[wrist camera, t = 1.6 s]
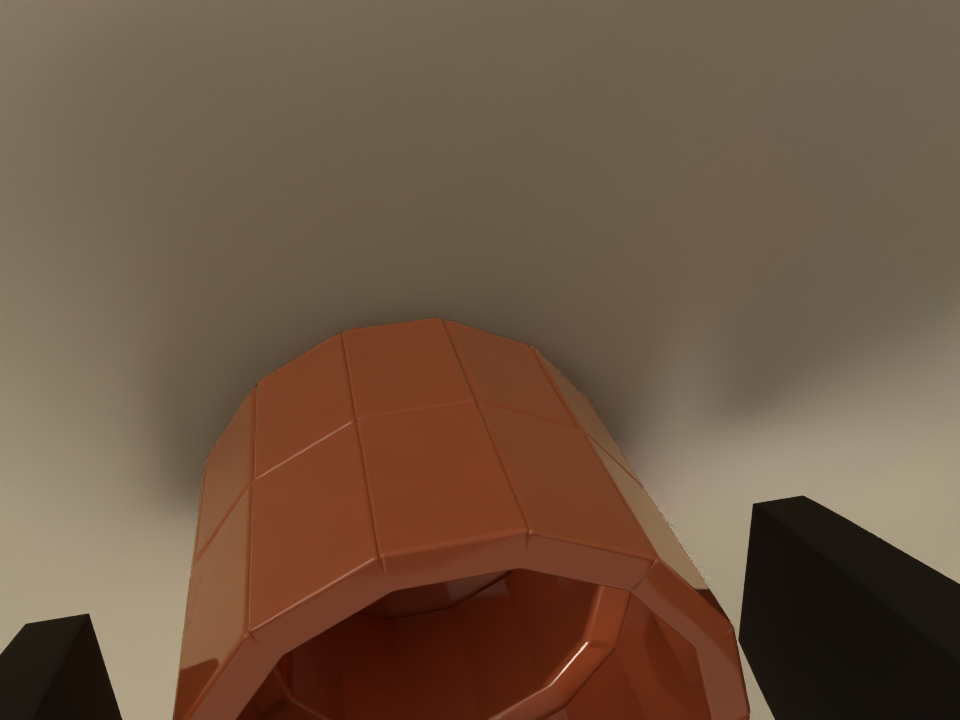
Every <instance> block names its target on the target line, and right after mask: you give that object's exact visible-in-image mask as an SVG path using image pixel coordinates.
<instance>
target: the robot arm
mask: <svg viewBox="0 0 960 720" xmlns="http://www.w3.org/2000/svg"><path fill="white" fill-rule="evenodd" d="M738 641H739V643H740V645H741V647H742V650H743V652H744V654H745V656H746V658H747V661H748V663H749V665H750V667H751V670H752V672H753V674H754V676H755V679H756V681H757V683H758V685H759V687H760V689H761V691H762V693H763V696H764V698H765V700H766V702H767V704H768V706H769V708H770V710H771V712H772V714H773V716H774V718H775V720H960V584H959V583H957V582H955V581H953V580H951V579H950V578H948V577H946V576H944V575H943V574H941V573H939V572H937V571H936V570H934V569H932V568H930V567H929V566H927V565H925V564H924V563H922V562H920V561H918V560H917V559H915V558H913V557H911V556H910V555H908V554H906V553H905V552H903V551H901V550H899V549H898V548H896V547H894V546H892V545H891V544H889V543H887V542H886V541H884V540H882V539H880V538H879V537H877V536H875V535H874V534H872V533H870V532H868V531H867V530H865V529H863V528H861V527H860V526H858V525H856V524H854V523H853V522H851V521H849V520H848V519H846V518H844V517H842V516H840V515H839V514H837V513H835V512H833V511H831V510H830V509H828V508H826V507H824V506H822V505H820V504H819V503H817V502H815V501H813V500H811V499H809V498H807V497H805V496H797V497H791V498H785V499H779V500H773V501H767V502H761V503H755V504H753V509H752V518H751V528H750V537H749V546H748V555H747V565H746V574H745V583H744V593H743V602H742V611H741V620H740V630H739V639H738ZM0 720H122V718H121V714H120V711H119V708H118V705H117V702H116V698H115V695H114V692H113V689H112V686H111V683H110V679H109V676H108V673H107V670H106V667H105V663H104V660H103V657H102V654H101V651H100V647H99V644H98V641H97V638H96V635H95V631H94V628H93V625H92V622H91V619H90V616H89V614H83V615H77V616H71V617H65V618H59V619H53V620H47V621H40V622H34V623H28V624H25V625H24V627H23V628H22V629H21V630H20V631H19V633H18V634H17V635H16V636H15V637H14V639H13V640H12V641H11V642H10V644H9V645H8V646H7V647H6V648H5V650H4V651H3V652H2V653H1V655H0Z"/></svg>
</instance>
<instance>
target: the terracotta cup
mask: <svg viewBox="0 0 960 720" xmlns="http://www.w3.org/2000/svg"><path fill="white" fill-rule="evenodd" d="M749 714H750V706H749V701H748V696H747V691H746V686H745V681H744V676H743V671H742V666H741V661H740V656H739V651H738V646H737V641H736V636H735V631H734V627H733V626H732V624H731V622H730V620H729V619H728V617H727V615H726V614H725V612H724V611H723V609H722V608H721V606H720V605H719V603H718V601H717V600H716V598H715V597H714V595H713V594H712V592H711V591H710V589H709V587H708V586H707V584H706V583H705V581H704V580H703V578H702V576H701V575H700V573H699V572H698V570H697V569H696V567H695V566H694V564H693V562H692V561H691V559H690V558H689V556H688V555H687V553H686V552H685V550H684V548H683V547H682V545H681V544H680V542H679V541H678V539H677V538H676V536H675V534H674V533H673V531H672V530H671V528H670V527H669V525H668V524H667V522H666V520H665V519H664V517H663V516H662V514H661V513H660V511H659V510H658V508H657V506H656V505H655V503H654V502H653V500H652V499H651V497H650V496H649V494H648V492H647V491H645V489H644V486H643V485H642V483H641V482H640V480H639V479H638V477H637V475H636V474H635V472H634V471H633V469H632V468H631V466H630V465H629V463H628V461H627V460H626V458H625V457H624V455H623V454H622V452H621V450H620V449H619V447H618V446H617V444H616V443H615V441H614V440H613V438H612V436H611V435H610V433H609V432H608V430H607V429H606V427H605V426H604V424H603V422H602V421H601V419H600V418H599V416H598V415H597V413H596V412H595V410H594V408H593V407H592V405H591V404H590V402H589V401H588V399H587V398H586V397H585V396H584V395H583V394H582V393H581V392H580V391H579V390H578V389H577V388H576V387H575V386H574V385H573V384H572V383H571V382H570V381H569V380H568V379H567V378H566V377H565V376H564V375H562V374H561V373H560V372H559V371H558V370H557V369H556V368H555V367H554V366H553V365H552V364H551V363H550V362H549V361H548V360H547V359H546V358H545V357H544V356H543V355H542V354H541V353H540V352H539V351H538V350H537V349H536V348H535V347H533V346H530V347H529V346H528V345H527V344H525V343H522V342H519V341H515V340H512V339H509V338H505V337H502V336H499V335H495V334H492V333H489V332H485V331H482V330H479V329H475V328H472V327H469V326H466V325H462V324H459V323H456V322H452V321H442V319H441V318H431V319H423V320H416V321H408V322H401V323H393V324H386V325H378V326H371V327H363V328H356V329H348V330H344V331H342V333H341V334H340V333H339V334H336V335H334V336H332V337H331V338H329V339H327V340H326V341H324V342H322V343H321V344H319V345H317V346H316V347H314V348H312V349H311V350H309V351H308V352H306V353H304V354H303V355H301V356H299V357H298V358H296V359H294V360H293V361H291V362H289V363H288V364H286V365H284V366H283V367H281V368H279V369H278V370H276V371H274V372H273V373H271V374H269V375H268V376H266V377H264V378H263V379H261V380H259V382H258V383H257V384H256V387H255V388H253V389H252V390H251V391H249V393H248V395H247V396H246V398H245V399H244V401H243V402H242V404H241V405H240V407H239V408H238V410H237V411H236V413H235V415H234V416H233V418H232V419H231V421H230V422H229V424H228V425H227V427H226V428H225V430H224V431H223V433H222V435H221V436H220V438H219V439H218V441H217V442H216V444H215V445H214V447H213V448H212V450H211V451H210V453H209V455H208V456H207V464H206V465H205V467H204V468H203V475H202V483H201V491H200V499H199V508H198V516H197V524H196V533H195V541H194V549H193V557H192V566H191V576H190V580H189V589H188V597H187V605H186V613H185V622H184V630H183V638H182V646H181V655H180V663H179V671H178V679H177V688H176V696H175V704H174V713H173V720H749V719H750V718H749Z"/></svg>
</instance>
